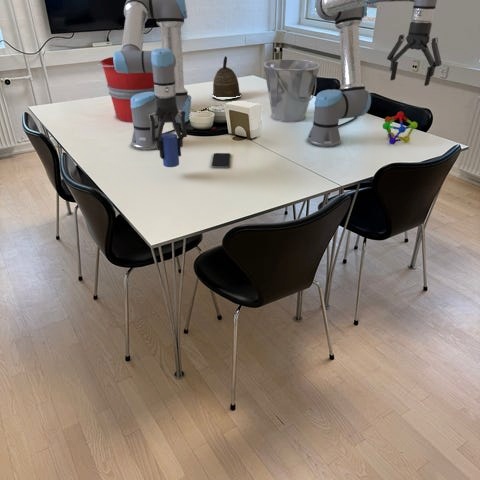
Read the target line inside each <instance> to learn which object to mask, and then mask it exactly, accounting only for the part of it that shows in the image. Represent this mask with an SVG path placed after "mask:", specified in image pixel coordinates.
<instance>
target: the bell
mask: <svg viewBox="0 0 480 480" xmlns="http://www.w3.org/2000/svg"><path fill="white" fill-rule="evenodd" d="M227 63H228V57H227V56H224V58H223V63H222V67H221V68H219V69H218V70H217V71H216V73H215V75H214V78H213V81H212V83H213V84H212V95H214V96H216V97H236V96H240V95H241V96H242V93H241V92H240V83H239V80H238V79H239V78H238V77H237V75H236V73H235V72H234V70H232V69H231V68H230V67H227Z"/></svg>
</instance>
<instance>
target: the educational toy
mask: <svg viewBox="0 0 480 480" xmlns="http://www.w3.org/2000/svg"><path fill="white" fill-rule="evenodd" d="M397 119H399V124H400V125H399V127H398V126H393V125H391V124H392V123H394V122H395V121H396V120H397ZM403 120H404V121H405V122H407V123H408V124H409V125H407V126H404V123H403ZM417 127H418V122H417V121H411V120H410V119H409V118H408V117H406V116H405V113H404V112H403V111H401V110H400V111H398V112H397V114H396V115H394V116H391V117H390V116H386V117H385V118H384V122H383V123H382V129H383V130H386V132H387V138H388V142H389V145H395V144H396V143H397V142H402V141H403V142H404V143H409V142H410V140H411V138H410V136H411V134H412V132H413V131H414V130H415V129H417ZM392 129H393V130H397V131H398V132H396V134H395V133H394V132H392ZM408 129H409V131H408V133H407V134H406V135H404V136H401V134H403V133H405V132H406V130H408ZM399 135H400V136H399Z"/></svg>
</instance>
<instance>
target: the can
mask: <svg viewBox="0 0 480 480" xmlns="http://www.w3.org/2000/svg"><path fill="white" fill-rule="evenodd" d="M177 138H178V136H177V133H175V132H174V133H173V132H171V133H166V134H162V135H161V142H162V145H163V156H164V159H162V165H163V166H164V167H166V168H175V167H176V168H177V167H178V166H180V156H179V154H178V140H177Z"/></svg>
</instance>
